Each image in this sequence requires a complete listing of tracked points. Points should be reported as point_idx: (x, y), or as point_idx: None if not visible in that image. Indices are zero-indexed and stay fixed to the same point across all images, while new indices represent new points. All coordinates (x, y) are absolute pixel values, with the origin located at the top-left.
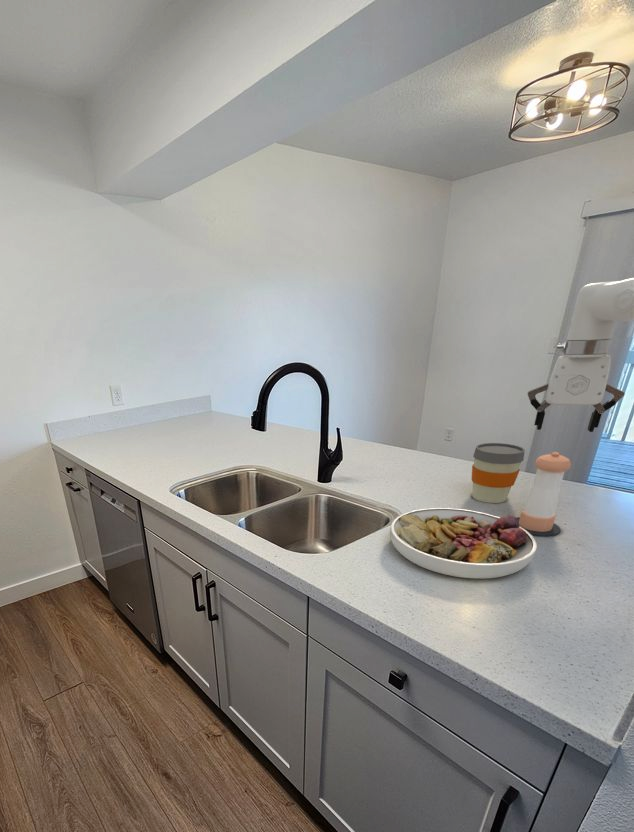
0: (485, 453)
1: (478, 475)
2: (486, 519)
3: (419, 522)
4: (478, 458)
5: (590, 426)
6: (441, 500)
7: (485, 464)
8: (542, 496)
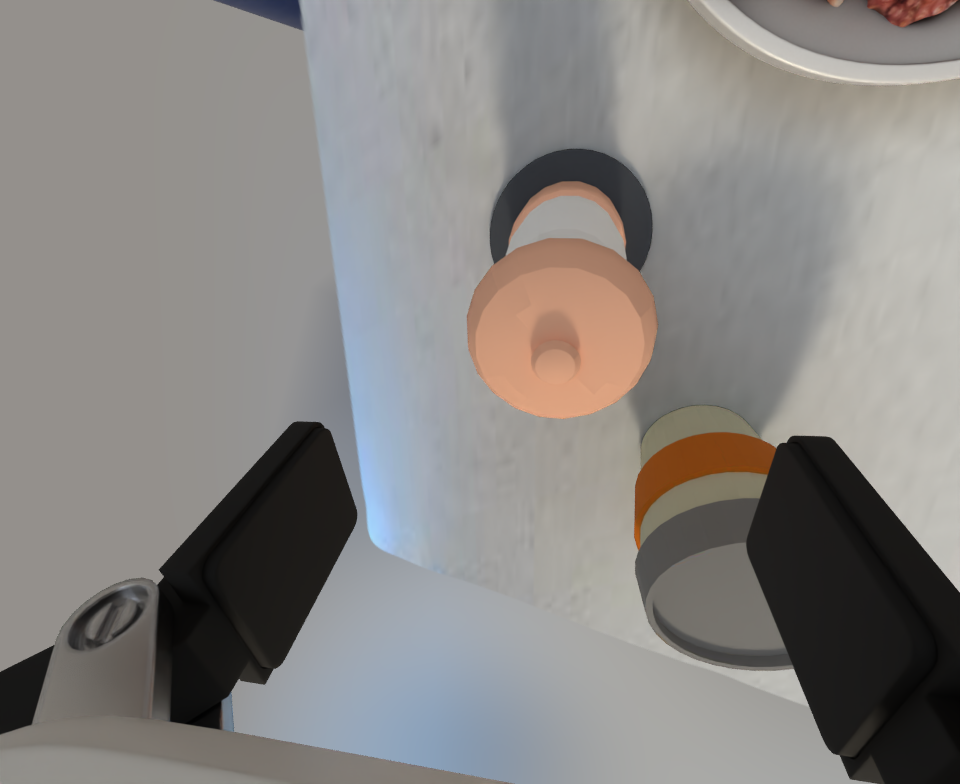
0: None
1: None
2: (814, 26)
3: None
4: None
5: (301, 455)
6: (895, 372)
7: None
8: (573, 215)
